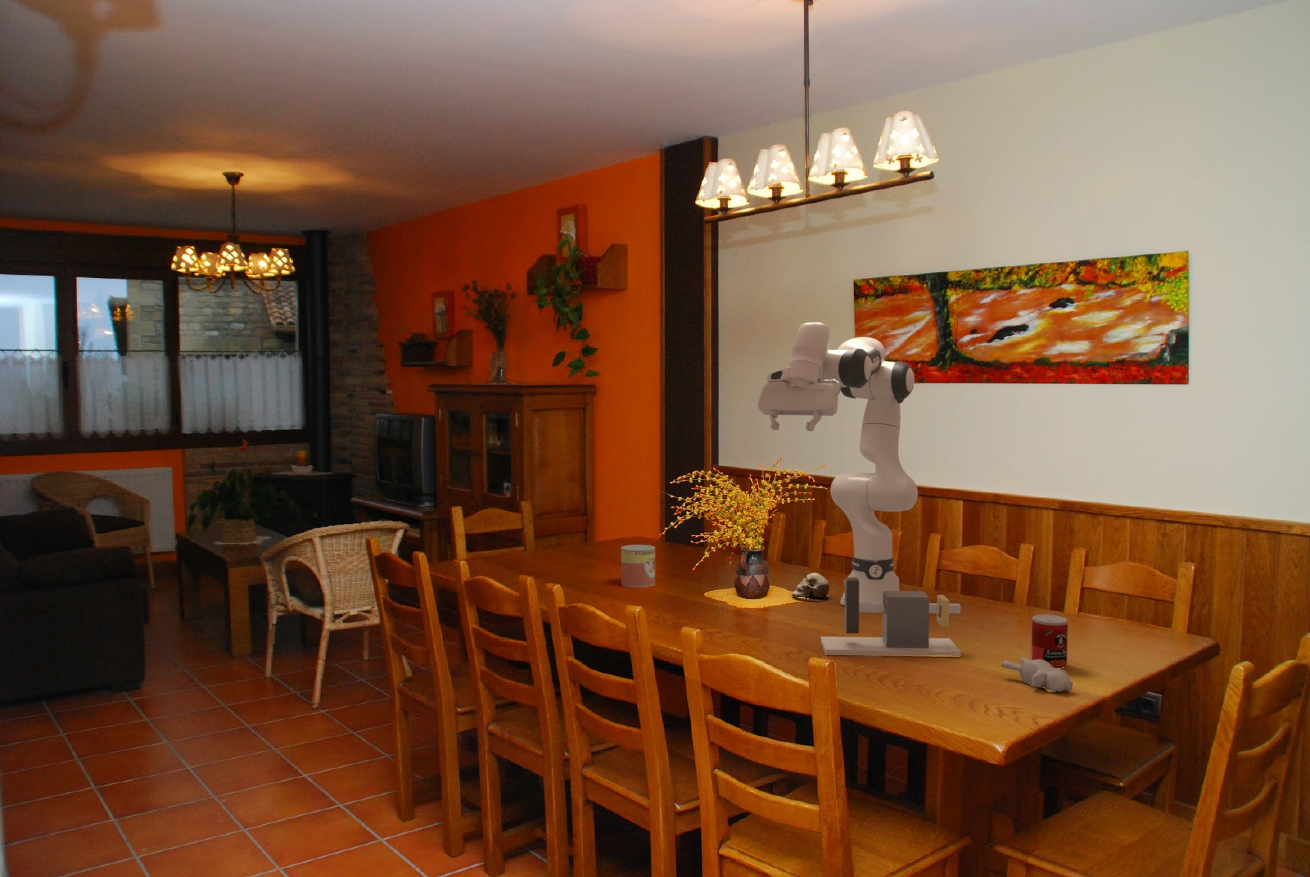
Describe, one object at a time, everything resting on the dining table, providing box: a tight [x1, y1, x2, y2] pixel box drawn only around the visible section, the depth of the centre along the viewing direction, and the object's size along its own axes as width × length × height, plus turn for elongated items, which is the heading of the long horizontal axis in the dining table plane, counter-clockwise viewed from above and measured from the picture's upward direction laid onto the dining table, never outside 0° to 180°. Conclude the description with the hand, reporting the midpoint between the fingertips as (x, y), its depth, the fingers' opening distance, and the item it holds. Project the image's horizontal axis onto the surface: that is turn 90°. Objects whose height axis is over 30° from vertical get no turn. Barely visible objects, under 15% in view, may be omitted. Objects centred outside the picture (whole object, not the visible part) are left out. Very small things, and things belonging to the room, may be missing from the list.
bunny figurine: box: [1000, 656, 1073, 693], centre depth 215 cm, size 10×5×15 cm
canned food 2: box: [1031, 614, 1069, 668], centre depth 229 cm, size 8×8×11 cm
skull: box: [791, 572, 830, 602], centre depth 302 cm, size 12×10×10 cm
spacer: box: [936, 594, 950, 628], centre depth 242 cm, size 6×2×6 cm, turn 176°
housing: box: [881, 590, 930, 648], centre depth 242 cm, size 7×10×14 cm
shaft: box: [844, 576, 962, 634], centre depth 242 cm, size 4×28×13 cm, turn 86°
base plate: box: [820, 636, 962, 657], centre depth 243 cm, size 12×32×2 cm, turn 86°
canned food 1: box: [620, 544, 656, 588], centre depth 324 cm, size 11×11×12 cm
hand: (791, 429), depth 242 cm, fingers open, 8 cm apart
